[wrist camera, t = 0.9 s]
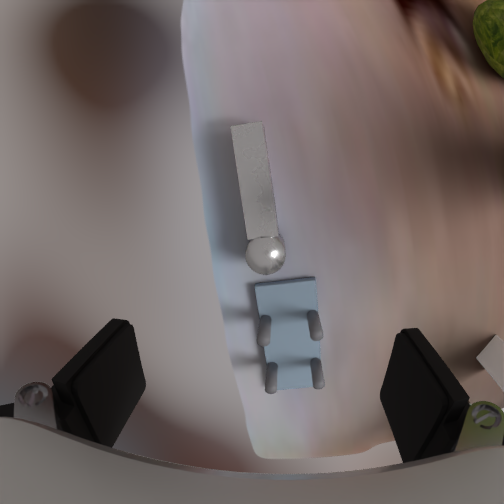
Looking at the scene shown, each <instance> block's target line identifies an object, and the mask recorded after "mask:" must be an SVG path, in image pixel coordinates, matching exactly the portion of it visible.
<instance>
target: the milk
mask: <svg viewBox="0 0 504 504" xmlns="http://www.w3.org/2000/svg"><path fill="white" fill-rule="evenodd" d="M476 359H477V360H478V361H479V362H480V363H481V365H482V366H483V367H484V368H485V370H486V371H487V372H488V373H489V374H490V376H491V377H492V378H493V379H494V380H495V382H496V383H497V384H498V385H499V387H500V388H501V389H502V390H503V392H504V341H503V340H502V339H501V338H500V337H498V336H497V335H495V336H494V337H493V339H492V340H491V341H490V342H489V343H488V345H487V346H486V347H485V348H484V349H483V350H482V351H481V353H480V354H479V355H478V356H477V357H476Z"/></svg>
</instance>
